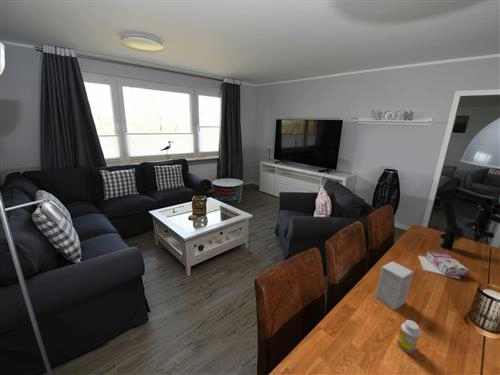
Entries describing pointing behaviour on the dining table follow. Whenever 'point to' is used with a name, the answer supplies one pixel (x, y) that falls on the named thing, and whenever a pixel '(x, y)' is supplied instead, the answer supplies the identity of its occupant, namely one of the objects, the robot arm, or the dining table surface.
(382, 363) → the dining table surface
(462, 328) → the dining table surface
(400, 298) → the supplement box
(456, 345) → the dining table surface
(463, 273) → the candy bar box
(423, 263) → the mat
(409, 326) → the supplement bottle
